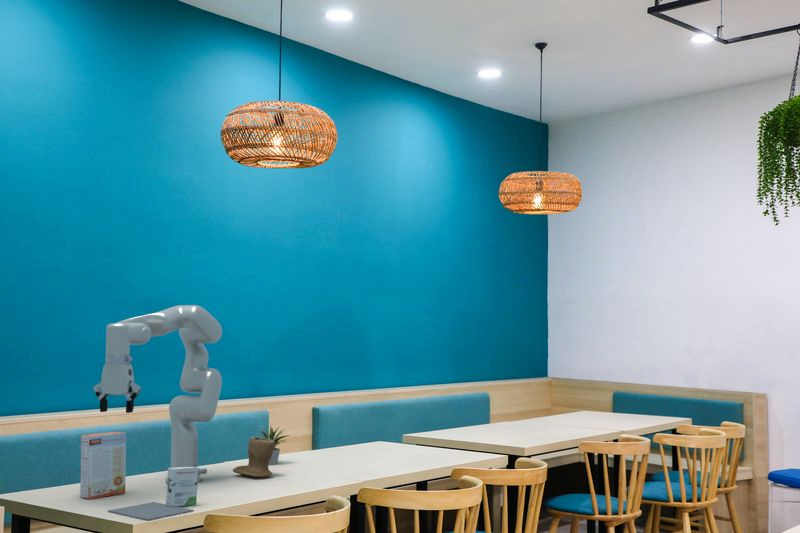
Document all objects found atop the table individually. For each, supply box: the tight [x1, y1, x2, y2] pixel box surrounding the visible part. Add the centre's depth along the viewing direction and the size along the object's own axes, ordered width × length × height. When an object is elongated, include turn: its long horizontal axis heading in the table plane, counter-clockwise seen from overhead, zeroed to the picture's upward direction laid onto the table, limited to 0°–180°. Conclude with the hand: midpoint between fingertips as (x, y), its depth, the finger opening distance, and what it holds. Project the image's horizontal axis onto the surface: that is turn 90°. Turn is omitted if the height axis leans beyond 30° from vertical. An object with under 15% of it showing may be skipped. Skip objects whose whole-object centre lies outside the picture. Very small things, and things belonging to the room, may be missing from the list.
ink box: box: [165, 467, 199, 507], centre depth 276 cm, size 9×5×12 cm, turn 131°
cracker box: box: [79, 430, 127, 500], centre depth 292 cm, size 14×6×21 cm, turn 140°
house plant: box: [260, 425, 291, 466], centre depth 359 cm, size 14×14×16 cm
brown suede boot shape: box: [232, 436, 276, 478], centre depth 331 cm, size 15×12×15 cm
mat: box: [107, 501, 195, 521], centre depth 266 cm, size 17×20×1 cm
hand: (116, 412), depth 286 cm, fingers open, 9 cm apart
